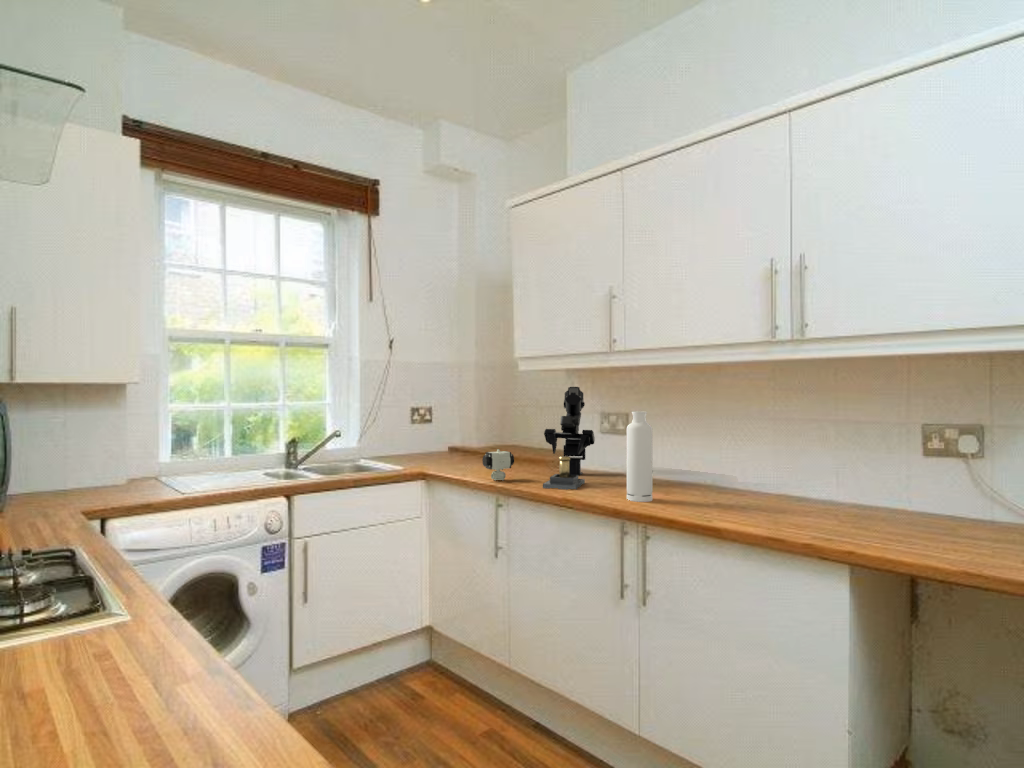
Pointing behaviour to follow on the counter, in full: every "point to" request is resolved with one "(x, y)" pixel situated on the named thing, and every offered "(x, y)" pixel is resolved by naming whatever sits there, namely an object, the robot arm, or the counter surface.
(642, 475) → the bottle
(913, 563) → the counter surface
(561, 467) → the brass coupling
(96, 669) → the counter surface
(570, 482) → the plate
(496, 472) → the pneumatic valve
